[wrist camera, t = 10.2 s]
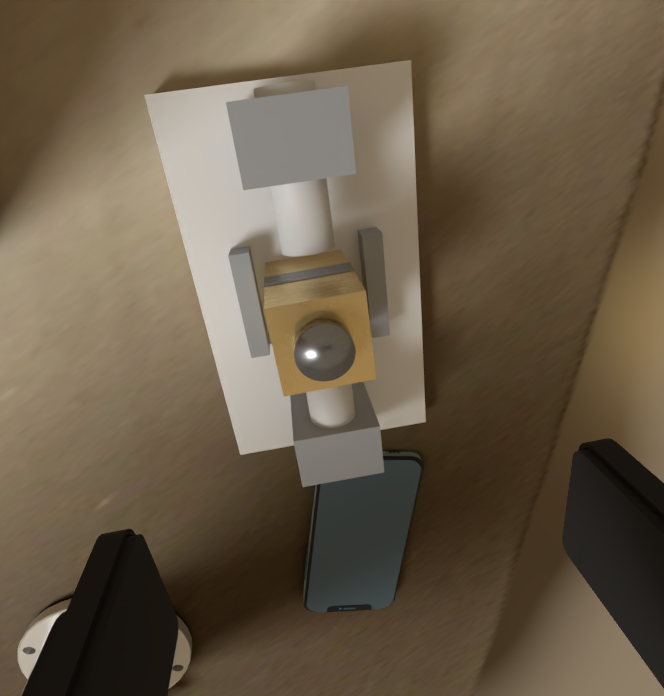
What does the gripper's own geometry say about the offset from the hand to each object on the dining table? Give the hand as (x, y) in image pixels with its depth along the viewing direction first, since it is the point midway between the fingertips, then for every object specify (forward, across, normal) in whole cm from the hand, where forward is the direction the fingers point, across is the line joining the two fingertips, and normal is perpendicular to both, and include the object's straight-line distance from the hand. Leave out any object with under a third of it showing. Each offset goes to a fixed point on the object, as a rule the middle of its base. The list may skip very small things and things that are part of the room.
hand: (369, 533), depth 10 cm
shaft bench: (+18, 0, 0) cm, 18 cm away
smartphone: (+19, -1, +20) cm, 27 cm away
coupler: (+17, 0, 0) cm, 17 cm away
